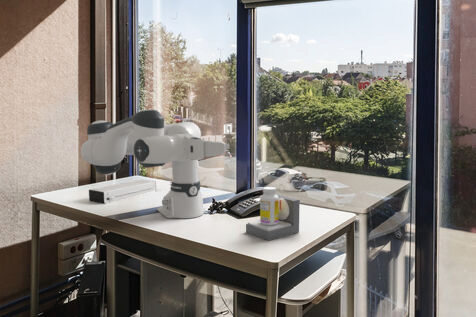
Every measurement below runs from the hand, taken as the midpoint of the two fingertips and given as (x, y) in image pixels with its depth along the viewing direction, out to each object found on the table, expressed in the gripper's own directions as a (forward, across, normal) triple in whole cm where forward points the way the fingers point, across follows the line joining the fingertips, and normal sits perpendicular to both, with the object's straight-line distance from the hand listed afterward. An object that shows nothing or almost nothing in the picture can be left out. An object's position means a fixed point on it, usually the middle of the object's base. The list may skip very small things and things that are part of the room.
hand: (220, 145), depth 138 cm
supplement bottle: (+15, +9, -29) cm, 34 cm away
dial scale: (+17, +9, -32) cm, 37 cm away
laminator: (-1, -83, -32) cm, 89 cm away
